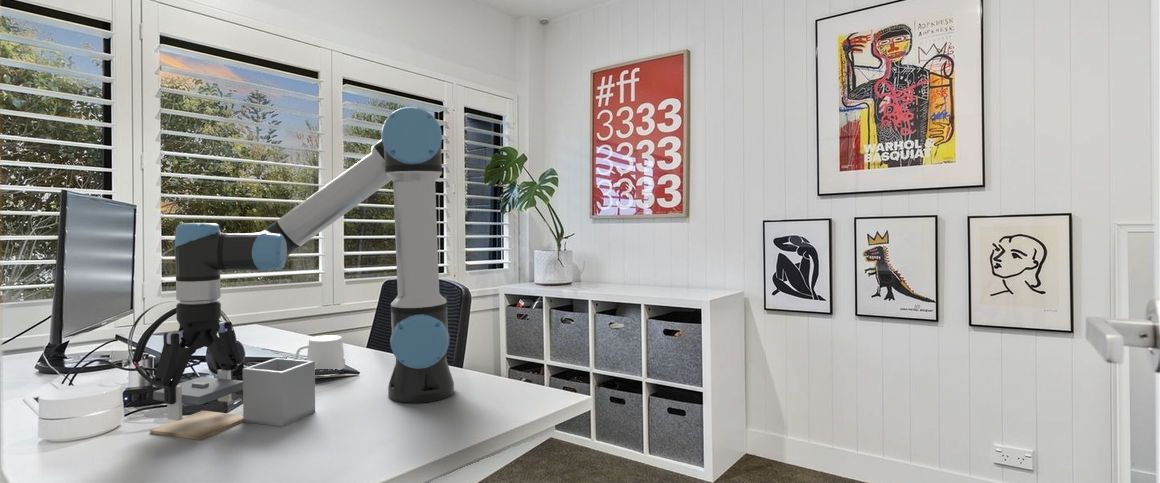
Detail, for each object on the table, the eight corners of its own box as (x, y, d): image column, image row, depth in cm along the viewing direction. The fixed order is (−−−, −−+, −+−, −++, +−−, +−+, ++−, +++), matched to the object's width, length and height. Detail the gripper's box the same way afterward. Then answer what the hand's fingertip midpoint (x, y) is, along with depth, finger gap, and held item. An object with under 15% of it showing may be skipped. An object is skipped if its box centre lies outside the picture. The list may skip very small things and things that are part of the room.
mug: (344, 333, 168) (344, 340, 161) (345, 367, 169) (345, 375, 162) (296, 336, 164) (294, 343, 157) (297, 371, 165) (294, 379, 157)
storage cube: (315, 411, 133) (314, 361, 132) (283, 426, 124) (282, 372, 123) (277, 407, 135) (277, 357, 135) (243, 421, 126) (242, 368, 126)
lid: (244, 392, 127) (244, 378, 127) (199, 409, 117) (199, 393, 117) (201, 387, 130) (201, 373, 130) (153, 403, 120) (153, 388, 119)
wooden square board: (249, 418, 128) (249, 416, 128) (200, 439, 116) (200, 436, 116) (202, 413, 131) (202, 410, 131) (150, 433, 120) (150, 430, 119)
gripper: (230, 292, 135) (232, 391, 136) (126, 309, 112) (130, 427, 113) (259, 294, 133) (260, 394, 134) (159, 311, 110) (162, 432, 111)
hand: (201, 409), depth 124 cm, fingers closed on lid, 11 cm apart
